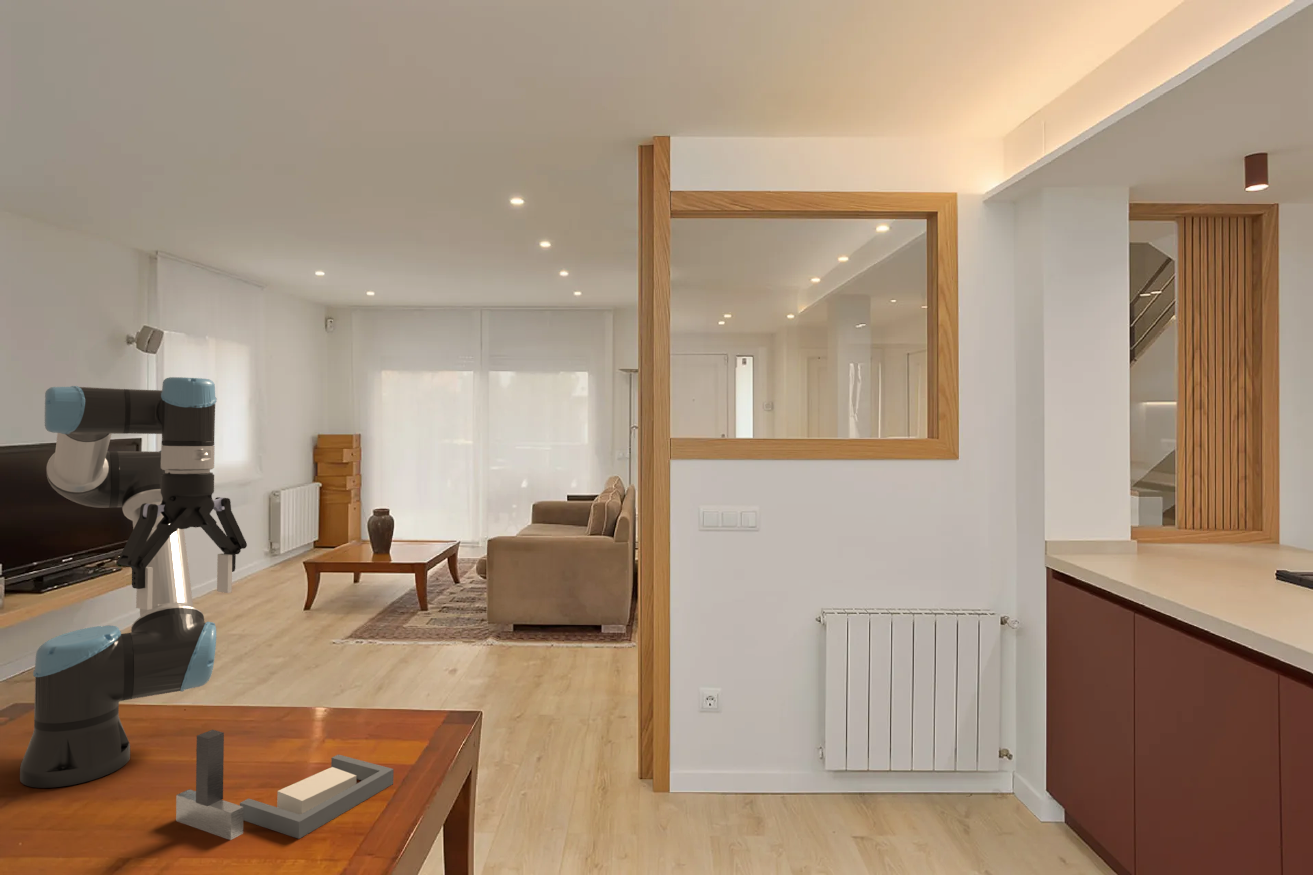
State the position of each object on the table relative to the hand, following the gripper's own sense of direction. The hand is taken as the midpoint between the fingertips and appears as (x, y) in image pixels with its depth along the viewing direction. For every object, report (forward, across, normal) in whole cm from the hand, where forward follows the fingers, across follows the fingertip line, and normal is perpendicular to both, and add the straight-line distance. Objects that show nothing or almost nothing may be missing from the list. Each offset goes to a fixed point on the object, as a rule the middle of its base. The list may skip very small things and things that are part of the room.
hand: (186, 599), depth 126 cm
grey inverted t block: (+31, -7, -16) cm, 35 cm away
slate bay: (+31, +6, -24) cm, 39 cm away
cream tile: (+31, +6, -24) cm, 39 cm away
